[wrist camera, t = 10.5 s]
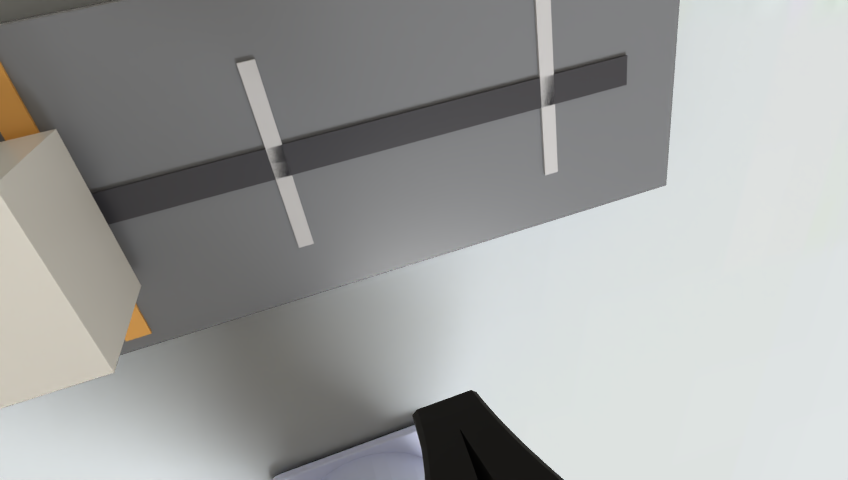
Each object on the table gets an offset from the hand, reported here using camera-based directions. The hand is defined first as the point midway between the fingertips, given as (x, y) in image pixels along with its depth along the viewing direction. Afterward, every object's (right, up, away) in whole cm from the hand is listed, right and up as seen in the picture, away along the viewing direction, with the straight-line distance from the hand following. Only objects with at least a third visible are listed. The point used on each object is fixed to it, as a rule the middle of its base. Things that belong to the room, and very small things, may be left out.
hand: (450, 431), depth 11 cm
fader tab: (-11, +4, +3) cm, 12 cm away
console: (-6, +7, +6) cm, 11 cm away
